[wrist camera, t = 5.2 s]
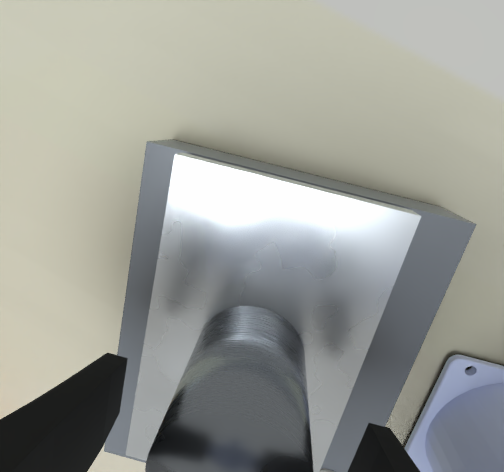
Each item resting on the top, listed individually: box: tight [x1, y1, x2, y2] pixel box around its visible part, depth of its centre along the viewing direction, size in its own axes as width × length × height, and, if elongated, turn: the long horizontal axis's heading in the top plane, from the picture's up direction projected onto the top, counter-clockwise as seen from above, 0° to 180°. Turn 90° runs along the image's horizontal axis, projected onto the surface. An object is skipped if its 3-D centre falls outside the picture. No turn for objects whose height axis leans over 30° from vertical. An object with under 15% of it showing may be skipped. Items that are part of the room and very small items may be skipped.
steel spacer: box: [146, 306, 314, 472], centre depth 11 cm, size 4×4×5 cm
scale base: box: [104, 140, 476, 472], centre depth 16 cm, size 12×15×3 cm
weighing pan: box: [126, 153, 421, 472], centre depth 13 cm, size 8×13×1 cm, turn 167°
